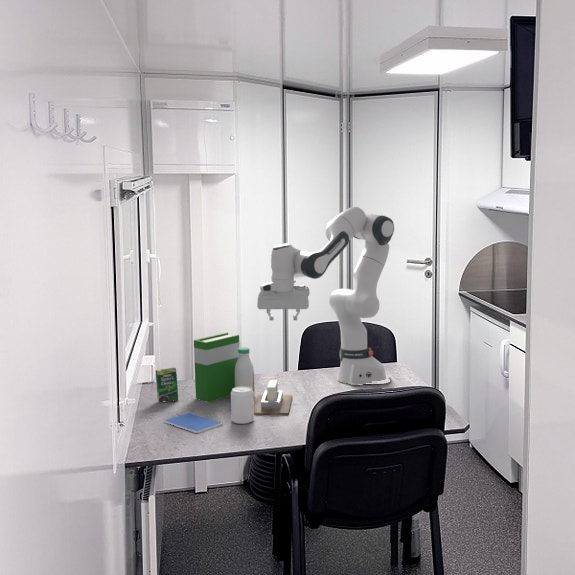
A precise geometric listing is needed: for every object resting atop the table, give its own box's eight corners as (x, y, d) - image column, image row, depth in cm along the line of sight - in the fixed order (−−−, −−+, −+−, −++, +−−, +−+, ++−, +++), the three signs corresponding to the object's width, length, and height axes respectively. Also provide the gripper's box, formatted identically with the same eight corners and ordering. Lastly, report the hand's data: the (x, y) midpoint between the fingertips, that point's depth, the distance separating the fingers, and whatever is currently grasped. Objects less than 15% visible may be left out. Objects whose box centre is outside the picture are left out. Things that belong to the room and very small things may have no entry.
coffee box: (158, 403, 293) (156, 371, 291) (156, 401, 296) (155, 369, 294) (178, 401, 296) (177, 368, 294) (177, 399, 299) (175, 367, 297)
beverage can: (228, 419, 273) (227, 387, 271) (249, 416, 276) (248, 384, 274) (236, 426, 266) (235, 393, 264) (257, 422, 269) (256, 390, 267)
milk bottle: (251, 400, 295) (250, 351, 292) (233, 399, 297) (231, 350, 294) (256, 394, 303) (255, 346, 300) (238, 393, 304) (236, 345, 301)
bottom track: (282, 397, 295) (282, 390, 294) (279, 409, 280) (279, 402, 280) (265, 397, 295) (264, 390, 295) (261, 409, 281) (260, 402, 280)
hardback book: (228, 388, 311) (226, 332, 308) (240, 392, 306) (239, 334, 303) (195, 398, 299) (193, 340, 295) (208, 402, 294) (205, 342, 290)
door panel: (278, 399, 293) (277, 379, 291) (275, 407, 283) (275, 387, 282) (269, 399, 293) (269, 379, 292) (267, 407, 283) (266, 387, 282)
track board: (292, 397, 298) (292, 395, 298) (288, 415, 277) (288, 413, 276) (257, 397, 299) (257, 395, 299) (250, 414, 278) (250, 412, 278)
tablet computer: (162, 423, 272) (162, 420, 271) (189, 414, 281) (189, 411, 280) (196, 435, 258) (196, 432, 258) (223, 426, 268) (223, 422, 267)
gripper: (309, 284, 295) (310, 318, 297) (258, 284, 296) (258, 318, 298) (309, 286, 289) (309, 321, 291) (256, 286, 290) (257, 321, 292)
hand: (283, 320), depth 295 cm, fingers open, 8 cm apart
